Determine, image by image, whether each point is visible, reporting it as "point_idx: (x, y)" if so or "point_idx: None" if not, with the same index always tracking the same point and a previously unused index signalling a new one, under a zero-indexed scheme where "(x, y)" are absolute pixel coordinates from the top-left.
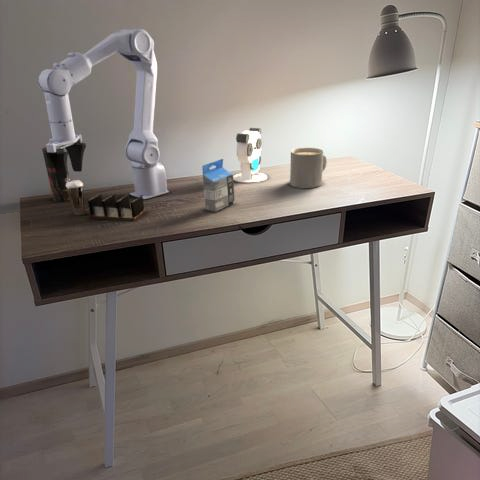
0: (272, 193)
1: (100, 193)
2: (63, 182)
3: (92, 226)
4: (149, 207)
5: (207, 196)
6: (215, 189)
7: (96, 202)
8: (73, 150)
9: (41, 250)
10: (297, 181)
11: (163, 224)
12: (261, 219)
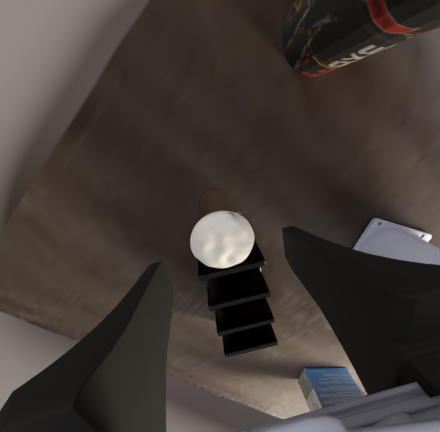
0: None
1: (262, 265)
2: (339, 50)
3: None
4: (296, 299)
5: (312, 398)
6: None
7: None
8: (356, 326)
9: (4, 290)
10: None
11: (225, 359)
12: (284, 418)
